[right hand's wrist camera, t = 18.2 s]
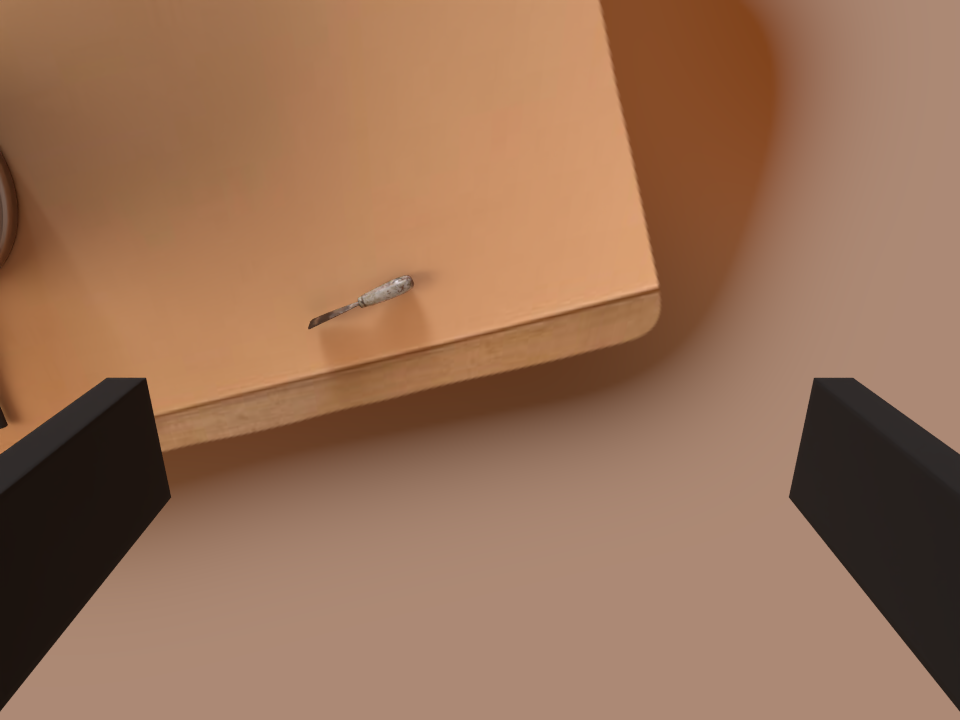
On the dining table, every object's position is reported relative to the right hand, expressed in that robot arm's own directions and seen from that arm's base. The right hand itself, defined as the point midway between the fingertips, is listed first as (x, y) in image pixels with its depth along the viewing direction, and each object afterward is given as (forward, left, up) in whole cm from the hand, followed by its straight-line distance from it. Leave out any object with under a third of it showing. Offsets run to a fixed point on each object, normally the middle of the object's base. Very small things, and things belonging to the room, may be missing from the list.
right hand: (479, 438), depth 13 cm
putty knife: (-6, +8, -32) cm, 34 cm away
